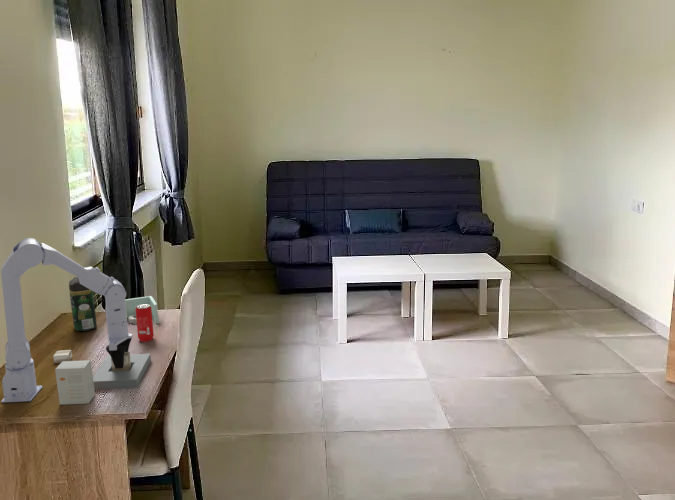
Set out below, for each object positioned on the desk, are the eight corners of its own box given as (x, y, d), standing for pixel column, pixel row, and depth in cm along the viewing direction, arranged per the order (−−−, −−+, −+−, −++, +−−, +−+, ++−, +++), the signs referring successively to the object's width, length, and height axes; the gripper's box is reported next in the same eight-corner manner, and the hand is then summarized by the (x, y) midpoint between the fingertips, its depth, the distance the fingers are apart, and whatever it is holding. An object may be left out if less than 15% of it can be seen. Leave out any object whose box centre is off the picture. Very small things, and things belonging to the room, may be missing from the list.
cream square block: (127, 373, 197) (126, 357, 196) (112, 374, 197) (111, 358, 196) (131, 367, 201) (129, 351, 200) (116, 368, 201) (114, 352, 200)
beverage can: (135, 340, 228) (131, 307, 225) (145, 336, 232) (142, 303, 229) (146, 343, 225) (143, 309, 222) (157, 338, 230) (154, 304, 227)
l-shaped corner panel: (120, 319, 251) (118, 300, 249) (153, 314, 256) (151, 295, 254) (124, 329, 240) (123, 309, 239) (158, 323, 245) (157, 304, 244)
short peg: (68, 362, 211) (68, 354, 210) (54, 363, 210) (53, 355, 209) (72, 357, 215) (71, 349, 214) (57, 358, 214) (56, 350, 214)
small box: (95, 395, 186) (91, 359, 183) (88, 404, 180) (84, 367, 178) (66, 396, 186) (62, 360, 183) (59, 405, 180) (54, 368, 178)
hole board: (137, 387, 190) (136, 379, 189) (90, 389, 189) (89, 381, 189) (150, 360, 209) (150, 353, 209) (108, 362, 209) (108, 355, 208)
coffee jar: (73, 325, 245) (67, 276, 241) (95, 321, 248) (90, 273, 244) (74, 333, 237) (68, 282, 232) (97, 329, 240) (92, 279, 235)
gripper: (125, 328, 189) (129, 373, 192) (136, 313, 203) (140, 354, 206) (99, 330, 188) (104, 374, 191) (112, 314, 202) (116, 356, 205)
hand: (121, 364), depth 199 cm, fingers closed on cream square block, 4 cm apart
